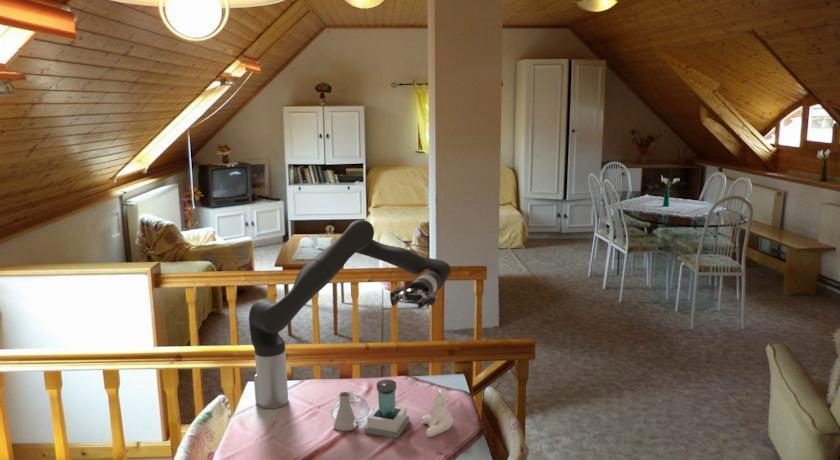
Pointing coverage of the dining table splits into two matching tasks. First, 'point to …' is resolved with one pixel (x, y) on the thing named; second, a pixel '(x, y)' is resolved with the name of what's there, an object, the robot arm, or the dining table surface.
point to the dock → (387, 423)
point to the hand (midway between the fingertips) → (406, 304)
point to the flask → (344, 414)
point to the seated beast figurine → (438, 415)
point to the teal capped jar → (386, 398)
